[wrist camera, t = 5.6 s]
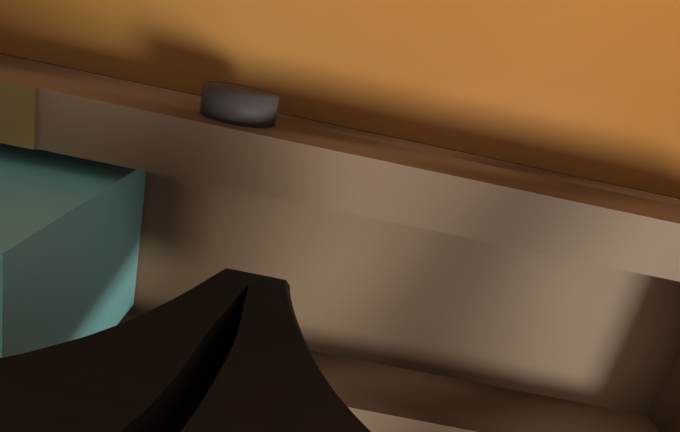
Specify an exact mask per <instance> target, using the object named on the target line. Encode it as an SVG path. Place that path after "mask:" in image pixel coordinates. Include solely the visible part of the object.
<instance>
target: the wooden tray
mask: <svg viewBox="0 0 680 432" xmlns="http://www.w3.org/2000/svg"><path fill="white" fill-rule="evenodd" d="M279 98H280V97H279V96H277V95H275V94H273V93H270V92H267V91H264V90H261V89H257V88H253V87H248V86H243V85H238V84H232V83H224V82H211V81H210V82H203V87H202V95H201V96H197V95H192V94H188V93H183V92H178V91H174V90H169V89H164V88H160V87H155V86H150V85H146V84H141V83H136V82H132V81H127V80H122V79H118V78H113V77H108V76H104V75H99V74H94V73H90V72H85V71H80V70H76V69H71V68H66V67H62V66H57V65H52V64H48V63H43V62H38V61H34V60H29V59H24V58H20V57H15V56H10V55H6V54H1V53H0V143H3V144H8V145H13V146H17V147H22V148H27V149H32V150H34V149H40V150H45V151H49V152H54V153H59V154H64V155H69V156H74V157H78V158H83V159H88V160H93V161H98V162H103V163H108V164H112V165H117V166H122V167H127V168H132V169H137V170H141V171H146V181H145V192H144V202H143V213H142V223H141V233H140V244H139V254H138V264H137V275H136V285H135V296H134V305H133V306H132V307H131V308H130V310H129V311H128V312H127V313H126V315H125V316H124V317H123V318H122V319H121V321H120V322H119V323H118V324H117V325H119V324H121V323H124V322H126V321H129V320H131V319H133V318H135V317H138V316H140V315H142V314H144V313H146V312H148V311H150V310H152V309H154V308H156V307H158V306H160V305H162V304H164V303H166V302H168V301H171V300H173V299H174V298H176V297H178V296H180V295H182V294H183V293H185V292H187V291H189V290H190V289H192V288H194V287H195V286H197V285H199V284H200V283H202V282H204V281H205V280H207V279H209V278H210V277H212V276H214V275H215V274H217V273H219V272H220V271H222V270H224V269H226V268H228V269H233V270H238V271H243V272H248V273H254V274H259V275H264V276H269V277H274V278H279V279H284V280H286V281H287V282H288V284H289V285H290V296H291V301H292V305H293V309H294V313H295V316H296V319H297V321H298V324H299V327H300V329H301V332H302V335H303V337H304V339H305V341H306V344H307V346H308V348H309V350H310V352H311V354H312V356H313V358H314V360H315V361H316V363H317V365H318V367H319V368H320V370H321V372H322V373H323V375H324V377H325V378H326V380H327V381H328V383H329V384H330V386H331V387H332V389H333V390H334V391H335V393H336V394H337V395H338V396H339V398H340V399H341V400H342V401H343V402H344V403H345V405H346V406H347V407H348V408H349V409H350V410H351V411H352V413H353V414H354V415H355V416H356V417H357V418H358V419H359V420H360V421H361V422H362V423H363V424H364V425H365V426H366V427H367V428H368V429H369V430H370V431H371V432H680V199H678V198H674V197H669V196H664V195H660V194H655V193H650V192H646V191H641V190H636V189H632V188H627V187H622V186H618V185H613V184H608V183H604V182H599V181H594V180H590V179H585V178H580V177H576V176H571V175H566V174H562V173H557V172H552V171H548V170H543V169H538V168H534V167H529V166H524V165H520V164H515V163H510V162H505V161H501V160H496V159H491V158H487V157H482V156H477V155H473V154H468V153H463V152H459V151H454V150H449V149H445V148H440V147H435V146H431V145H426V144H421V143H417V142H412V141H407V140H403V139H398V138H393V137H389V136H384V135H379V134H375V133H370V132H365V131H361V130H356V129H351V128H347V127H342V126H337V125H333V124H328V123H323V122H319V121H314V120H309V119H305V118H300V117H295V116H291V115H286V114H281V113H277V110H278V104H279Z"/></svg>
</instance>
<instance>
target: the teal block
mask: <svg viewBox="0 0 680 432" xmlns="http://www.w3.org/2000/svg"><path fill="white" fill-rule="evenodd" d="M145 181H146V171H141V170H137V169H132V168H127V167H122V166H117V165H112V164H108V163H103V162H98V161H93V160H88V159H83V158H78V157H74V156H69V155H64V154H59V153H54V152H49V151H45V150H40V149H34V150H32V149H27V148H22V147H17V146H13V145H8V144H3V143H0V358H3V357H8V356H13V355H17V354H22V353H27V352H31V351H34V350H38V349H42V348H45V347H49V346H53V345H57V344H60V343H64V342H68V341H71V340H75V339H79V338H82V337H85V336H88V335H91V334H94V333H97V332H100V331H102V330H105V329H108V328H111V327H114V326H116V325H117V324H118V323H119V322H120V321H121V319H122V318H123V317H124V316H125V315H126V313H127V312H128V311H129V310H130V308H131V307H132V306H133V305H134V296H135V285H136V275H137V264H138V254H139V244H140V233H141V223H142V213H143V202H144V192H145Z"/></svg>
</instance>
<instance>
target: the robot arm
mask: <svg viewBox="0 0 680 432" xmlns="http://www.w3.org/2000/svg"><path fill="white" fill-rule="evenodd" d="M0 432H371V431H370V430H369V429H368V428H367V427H366V426H365V425H364V424H363V423H362V422H361V421H360V420H359V419H358V418H357V417H356V416H355V415H354V414H353V413H352V411H351V410H350V409H349V408H348V407H347V406H346V405H345V403H344V402H343V401H342V400H341V399H340V398H339V396H338V395H337V394H336V393H335V391H334V390H333V389H332V387H331V386H330V384H329V383H328V381H327V380H326V378H325V377H324V375H323V373H322V372H321V370H320V368H319V367H318V365H317V363H316V361H315V360H314V358H313V356H312V354H311V352H310V350H309V348H308V346H307V344H306V341H305V339H304V337H303V335H302V332H301V329H300V327H299V324H298V321H297V319H296V316H295V313H294V309H293V305H292V301H291V296H290V285H289V284H288V282H287V281H286V280H284V279H279V278H274V277H269V276H264V275H259V274H254V273H248V272H243V271H238V270H233V269H228V268H226V269H224V270H222V271H220V272H219V273H217V274H215V275H214V276H212V277H210V278H209V279H207V280H205V281H204V282H202V283H200V284H199V285H197V286H195V287H194V288H192V289H190V290H189V291H187V292H185V293H183V294H182V295H180V296H178V297H176V298H174V299H173V300H171V301H168V302H166V303H164V304H162V305H160V306H158V307H156V308H154V309H152V310H150V311H148V312H146V313H144V314H142V315H140V316H138V317H135V318H133V319H131V320H129V321H126V322H124V323H121V324H119V325H116V326H114V327H111V328H108V329H105V330H102V331H100V332H97V333H94V334H91V335H88V336H85V337H82V338H79V339H75V340H71V341H68V342H64V343H60V344H57V345H53V346H49V347H45V348H42V349H38V350H34V351H31V352H27V353H22V354H17V355H13V356H8V357H3V358H0Z"/></svg>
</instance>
